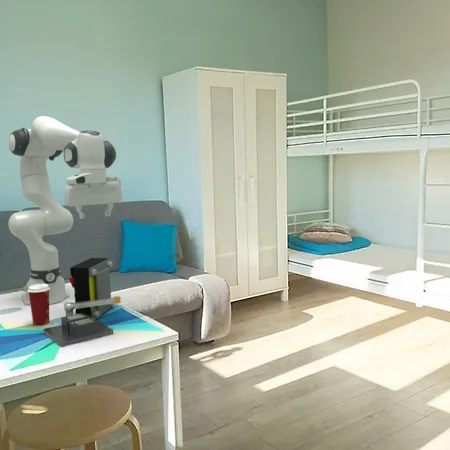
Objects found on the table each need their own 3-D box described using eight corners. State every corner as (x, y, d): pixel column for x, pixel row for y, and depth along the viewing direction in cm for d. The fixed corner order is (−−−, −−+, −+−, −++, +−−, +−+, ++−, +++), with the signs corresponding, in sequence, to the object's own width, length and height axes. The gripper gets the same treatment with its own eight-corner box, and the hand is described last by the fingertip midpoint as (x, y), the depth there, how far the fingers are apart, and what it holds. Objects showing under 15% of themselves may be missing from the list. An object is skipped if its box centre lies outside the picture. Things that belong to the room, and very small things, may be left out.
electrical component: (96, 320, 188) (93, 268, 185) (71, 319, 190) (68, 267, 187) (116, 306, 205) (113, 258, 202) (92, 305, 207) (89, 257, 204)
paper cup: (56, 322, 187) (53, 285, 185) (36, 328, 181) (33, 290, 179) (45, 318, 192) (43, 282, 190) (26, 323, 187) (23, 286, 185)
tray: (43, 333, 176) (42, 315, 175) (92, 321, 187) (91, 304, 186) (61, 346, 163) (60, 327, 162) (113, 333, 174) (112, 315, 173)
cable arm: (65, 311, 177) (64, 305, 177) (64, 308, 180) (63, 302, 180) (120, 303, 185) (120, 297, 185) (119, 301, 188) (118, 295, 188)
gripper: (116, 176, 185) (118, 214, 186) (61, 179, 172) (63, 219, 174) (124, 176, 180) (126, 215, 182) (68, 179, 167) (70, 221, 169)
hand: (95, 217), depth 178 cm, fingers open, 8 cm apart
